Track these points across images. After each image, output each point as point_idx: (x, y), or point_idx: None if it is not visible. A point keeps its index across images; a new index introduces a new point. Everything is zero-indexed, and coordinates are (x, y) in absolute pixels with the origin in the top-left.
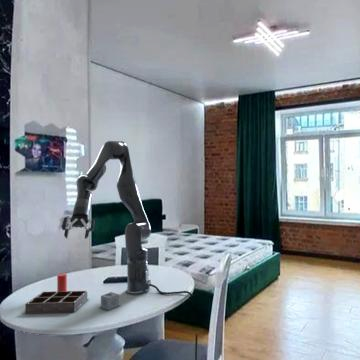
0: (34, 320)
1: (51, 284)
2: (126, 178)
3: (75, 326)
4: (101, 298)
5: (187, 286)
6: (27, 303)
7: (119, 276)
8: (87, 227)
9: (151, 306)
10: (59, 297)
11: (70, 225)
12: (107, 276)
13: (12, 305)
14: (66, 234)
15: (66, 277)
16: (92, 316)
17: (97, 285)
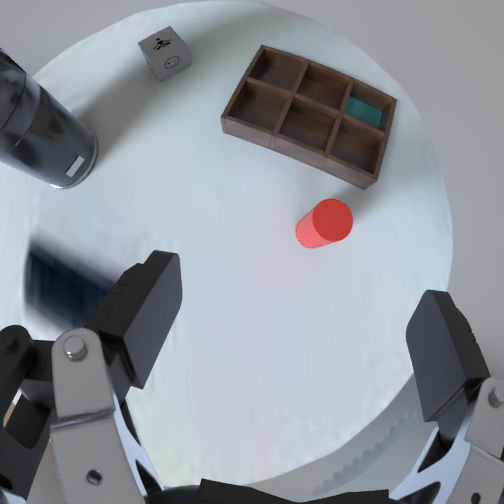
0: (350, 64)
1: (353, 367)
2: None
3: (254, 8)
4: (185, 46)
5: None
6: (392, 98)
7: None
8: (71, 383)
9: (88, 50)
10: (311, 100)
11: (480, 448)
12: None
13: (433, 195)
14: (446, 306)
15: (309, 216)
16: (217, 31)
17: None
